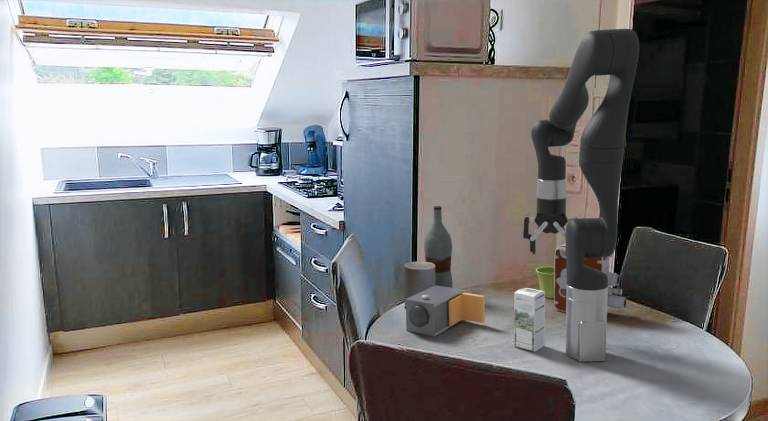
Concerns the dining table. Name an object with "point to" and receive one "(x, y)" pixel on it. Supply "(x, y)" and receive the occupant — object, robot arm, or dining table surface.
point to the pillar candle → (418, 277)
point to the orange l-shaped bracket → (467, 308)
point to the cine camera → (591, 262)
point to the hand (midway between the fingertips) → (550, 254)
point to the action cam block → (430, 310)
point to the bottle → (439, 250)
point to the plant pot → (546, 280)
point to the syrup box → (529, 319)
